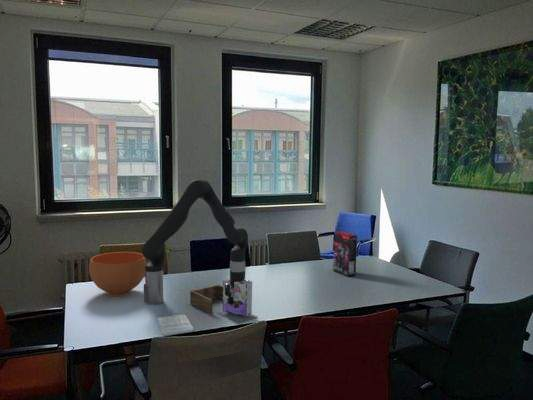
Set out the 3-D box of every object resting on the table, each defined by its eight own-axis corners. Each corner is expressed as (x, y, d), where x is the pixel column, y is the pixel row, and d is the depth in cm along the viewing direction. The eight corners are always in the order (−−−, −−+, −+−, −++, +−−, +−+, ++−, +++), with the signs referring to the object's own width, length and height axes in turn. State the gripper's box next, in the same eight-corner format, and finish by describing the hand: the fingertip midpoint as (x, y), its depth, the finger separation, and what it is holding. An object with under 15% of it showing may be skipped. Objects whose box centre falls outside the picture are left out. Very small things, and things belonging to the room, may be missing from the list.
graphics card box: (332, 271, 306) (333, 231, 303) (340, 269, 309) (341, 231, 306) (348, 277, 291) (349, 236, 288) (356, 276, 294) (358, 235, 291)
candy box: (222, 311, 220) (222, 279, 218) (228, 308, 225) (228, 276, 224) (246, 317, 214) (246, 283, 212) (252, 313, 219) (252, 280, 217)
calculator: (185, 317, 218) (184, 313, 218) (194, 332, 199) (194, 328, 199) (157, 320, 213) (157, 316, 213) (164, 336, 194) (164, 332, 194)
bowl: (156, 288, 262) (155, 253, 259) (127, 304, 233) (126, 266, 231) (111, 283, 270) (110, 250, 267) (78, 298, 241) (77, 261, 239)
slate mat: (238, 323, 209) (238, 322, 209) (217, 313, 222) (217, 312, 222) (257, 317, 217) (257, 316, 217) (236, 308, 230) (236, 307, 230)
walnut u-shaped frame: (210, 313, 221) (210, 300, 221) (190, 303, 236) (190, 290, 235) (239, 306, 233) (239, 293, 232) (218, 296, 247) (218, 284, 247)
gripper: (230, 273, 210) (229, 307, 212) (253, 268, 219) (253, 301, 221) (221, 270, 215) (220, 303, 217) (244, 265, 225) (244, 297, 227)
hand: (237, 302), depth 219 cm, fingers closed on candy box, 7 cm apart
